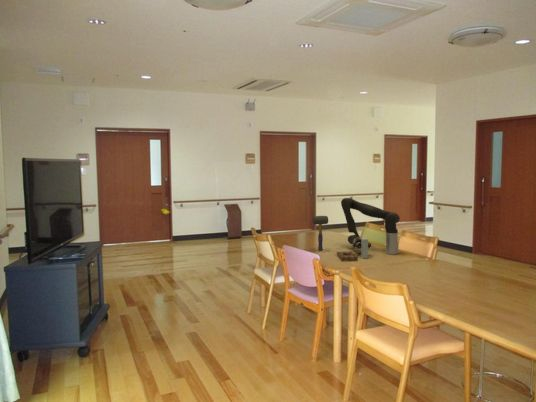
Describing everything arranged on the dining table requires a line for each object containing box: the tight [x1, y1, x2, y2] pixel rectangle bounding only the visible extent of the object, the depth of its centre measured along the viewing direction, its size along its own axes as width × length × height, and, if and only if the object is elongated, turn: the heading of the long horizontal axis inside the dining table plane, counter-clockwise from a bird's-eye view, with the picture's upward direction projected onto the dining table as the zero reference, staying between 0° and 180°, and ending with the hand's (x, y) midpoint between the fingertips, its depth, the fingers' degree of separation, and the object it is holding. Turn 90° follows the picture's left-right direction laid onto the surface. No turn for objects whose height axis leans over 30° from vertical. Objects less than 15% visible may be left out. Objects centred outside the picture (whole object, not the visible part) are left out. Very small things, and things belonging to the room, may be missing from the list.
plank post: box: [360, 237, 369, 259], centre depth 329 cm, size 4×5×15 cm
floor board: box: [336, 251, 359, 262], centre depth 329 cm, size 12×20×3 cm, turn 2°
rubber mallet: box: [312, 215, 329, 252], centre depth 356 cm, size 12×8×30 cm, turn 101°
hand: (364, 246), depth 330 cm, fingers open, 8 cm apart
